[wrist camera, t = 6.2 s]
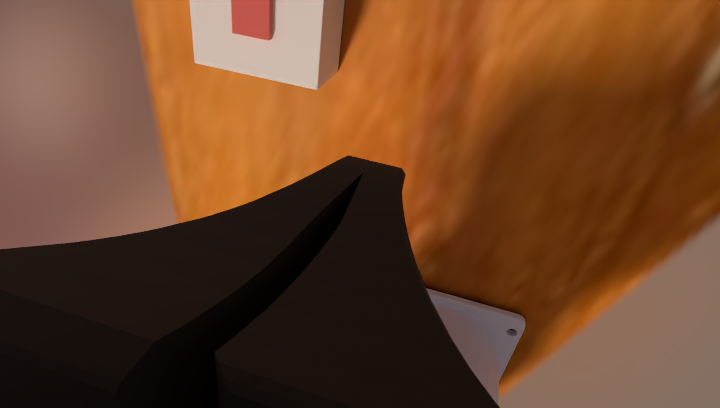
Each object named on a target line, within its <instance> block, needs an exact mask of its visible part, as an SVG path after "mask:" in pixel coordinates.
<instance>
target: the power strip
mask: <svg viewBox="0 0 720 408" xmlns="http://www.w3.org/2000/svg"><path fill="white" fill-rule="evenodd" d="M344 3H345V0H190V11H191V23H192V35H193V47H194V59H195V63H197V64H202V65H206V66H211V67H215V68H220V69H224V70H229V71H233V72H238V73H243V74H247V75H252V76H256V77H261V78H265V79H270V80H274V81H279V82H283V83H288V84H292V85H297V86H301V87H306V88H310V89H315V90H318V89H319V88H320V87H321V86H322V85H323V84H324V83H326V82H327V81H328V80H329V79H330V78H331V77H332V76H333V75H334V74H336V73H337V72H338V65H339V55H340V45H341V34H342V24H343V13H344Z"/></svg>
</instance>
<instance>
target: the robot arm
mask: <svg viewBox="0 0 720 408" xmlns="http://www.w3.org/2000/svg"><path fill="white" fill-rule="evenodd" d="M404 179H405V173H404V171H403V170H402V168H398V167H394V166H390V165H386V164H382V163H378V162H373V161H369V160H365V159H361V158H357V157H352V156H346V157H344V158H342V159H340V160H338V161H336V162H334V163H332V164H330V165H328V166H327V167H325V168H323V169H321V170H319V171H317V172H315V173H313V174H311V175H309V176H307V177H305V178H303V179H301V180H299V181H297V182H295V183H293V184H291V185H289V186H287V187H284V188H282V189H280V190H278V191H275V192H273V193H271V194H268V195H266V196H264V197H262V198H259V199H257V200H255V201H252V202H249V203H247V204H244V205H241V206H238V207H236V208H233V209H230V210H226V211H223V212H220V213H217V214H214V215H211V216H207V217H204V218H200V219H196V220H192V221H188V222H184V223H179V224H175V225H172V226H167V227H163V228H159V229H154V230H149V231H144V232H140V233H133V234H128V235H122V236H116V237H109V238H103V239H96V240H90V241H81V242H74V243H65V244H54V245H43V246H32V247H21V248H11V249H0V408H499V406H498V398H499V380H500V378H501V376H502V374H503V372H504V370H505V368H506V366H507V364H508V362H509V360H510V358H511V356H512V354H513V352H514V350H515V348H516V346H517V344H518V342H519V340H520V338H521V336H522V334H523V331H524V329H525V326H526V322H525V319H524V317H523V316H521V315H519V314H516V313H513V312H509V311H506V310H502V309H499V308H495V307H491V306H488V305H484V304H481V303H477V302H474V301H470V300H467V299H463V298H460V297H456V296H453V295H449V294H445V293H442V292H438V291H435V290H431V289H428V288H426V287H425V285H424V282H423V280H422V277H421V275H420V272H419V270H418V267H417V264H416V261H415V258H414V255H413V252H412V248H411V245H410V241H409V237H408V233H407V228H406V223H405V217H404V210H403V202H402V189H403V184H404ZM509 329H514V330H509Z"/></svg>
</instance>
